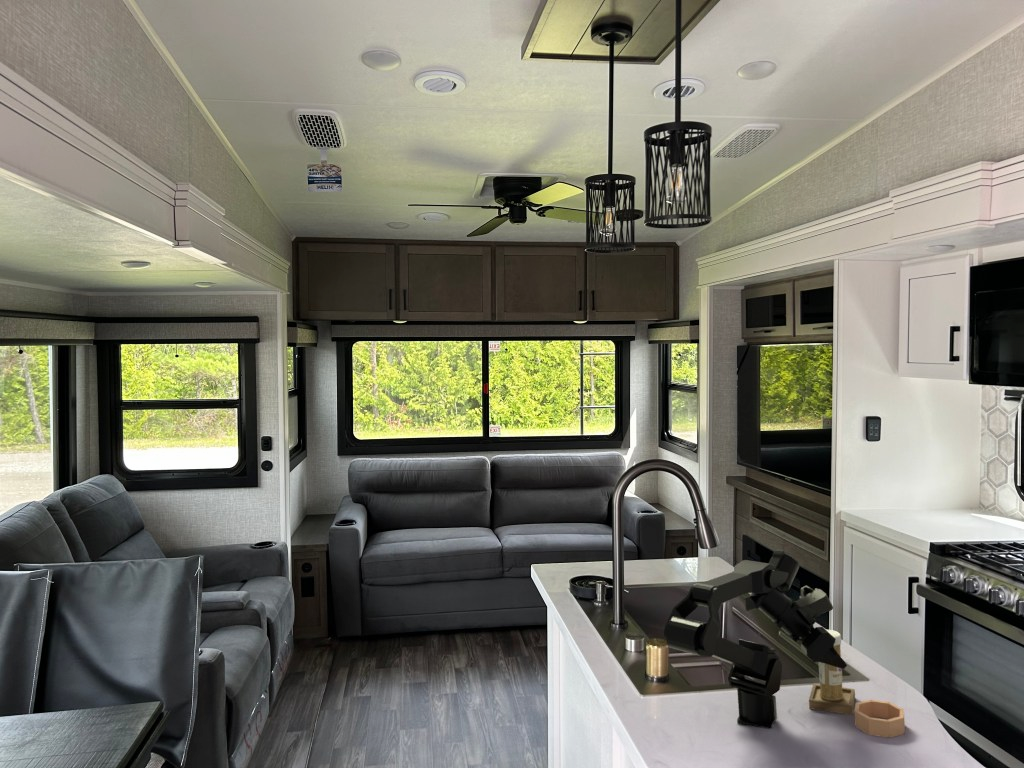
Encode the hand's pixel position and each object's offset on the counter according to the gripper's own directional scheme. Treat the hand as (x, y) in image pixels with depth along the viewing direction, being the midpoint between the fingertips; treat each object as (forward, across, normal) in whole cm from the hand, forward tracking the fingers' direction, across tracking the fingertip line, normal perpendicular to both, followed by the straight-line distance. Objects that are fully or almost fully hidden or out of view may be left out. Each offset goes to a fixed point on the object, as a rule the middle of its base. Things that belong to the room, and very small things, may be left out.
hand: (836, 658), depth 153 cm
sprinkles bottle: (+5, 0, +7) cm, 8 cm away
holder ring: (+9, -10, +4) cm, 14 cm away
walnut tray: (+6, 0, +8) cm, 9 cm away
